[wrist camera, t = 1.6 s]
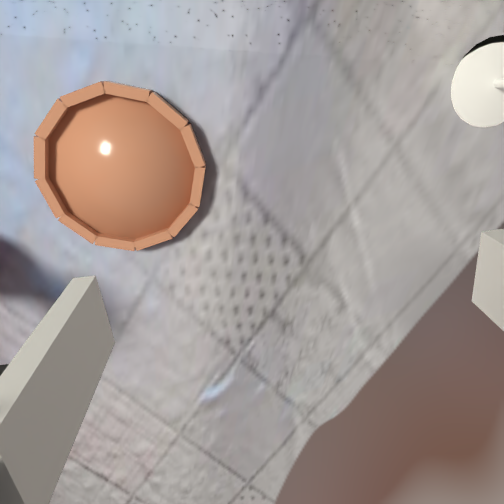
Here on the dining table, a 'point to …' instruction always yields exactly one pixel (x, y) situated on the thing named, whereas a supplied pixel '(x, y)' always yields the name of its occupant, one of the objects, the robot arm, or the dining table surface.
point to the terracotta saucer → (119, 165)
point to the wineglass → (480, 84)
